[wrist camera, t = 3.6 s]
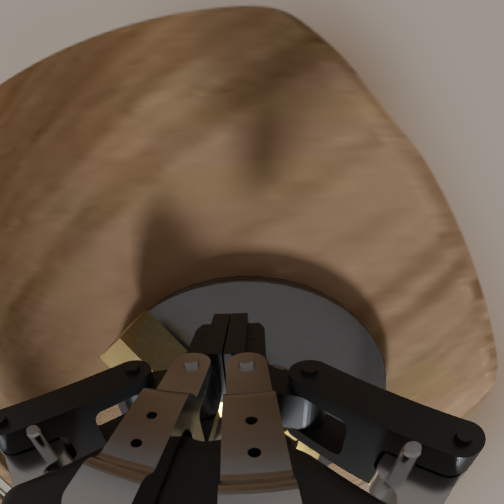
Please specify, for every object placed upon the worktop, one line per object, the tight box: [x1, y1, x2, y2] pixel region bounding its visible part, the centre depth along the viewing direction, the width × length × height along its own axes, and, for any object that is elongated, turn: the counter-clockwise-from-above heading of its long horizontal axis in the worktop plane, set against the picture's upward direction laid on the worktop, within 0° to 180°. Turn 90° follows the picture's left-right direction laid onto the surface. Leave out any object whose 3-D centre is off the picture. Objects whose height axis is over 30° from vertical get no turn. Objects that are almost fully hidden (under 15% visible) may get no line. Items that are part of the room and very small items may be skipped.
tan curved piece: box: [100, 309, 320, 460], centre depth 16 cm, size 16×11×4 cm, turn 41°
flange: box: [118, 276, 386, 466], centre depth 17 cm, size 22×22×7 cm
